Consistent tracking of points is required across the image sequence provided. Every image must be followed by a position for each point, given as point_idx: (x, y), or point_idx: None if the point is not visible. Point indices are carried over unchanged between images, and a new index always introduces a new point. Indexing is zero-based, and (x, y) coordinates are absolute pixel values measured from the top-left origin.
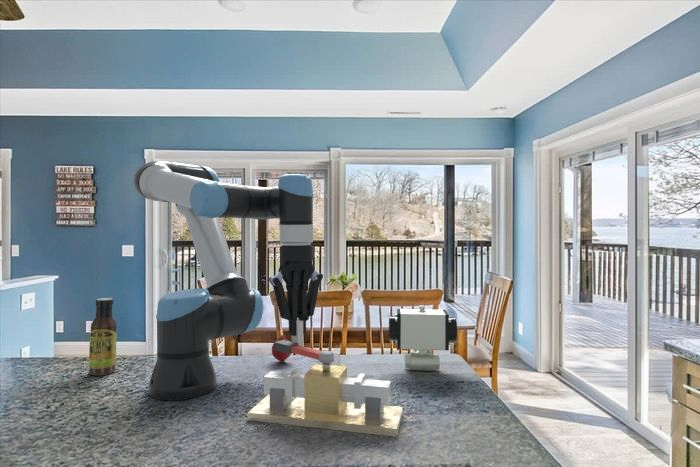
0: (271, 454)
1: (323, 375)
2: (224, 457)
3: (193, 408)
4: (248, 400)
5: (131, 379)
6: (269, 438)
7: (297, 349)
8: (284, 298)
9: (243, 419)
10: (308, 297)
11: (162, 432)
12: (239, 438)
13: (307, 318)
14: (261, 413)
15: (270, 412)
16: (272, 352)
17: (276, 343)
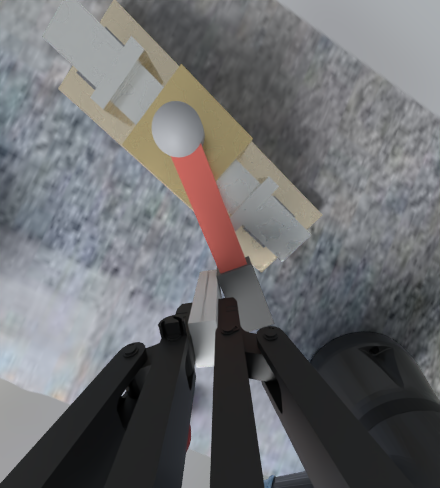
0: (334, 73)
1: (210, 106)
2: (396, 103)
3: (370, 295)
4: (286, 285)
5: None
6: (314, 130)
7: (236, 236)
8: (341, 448)
9: (321, 219)
10: (91, 481)
11: (437, 235)
12: (353, 155)
13: (167, 321)
14: (304, 199)
15: (289, 195)
16: (190, 433)
17: (270, 314)
